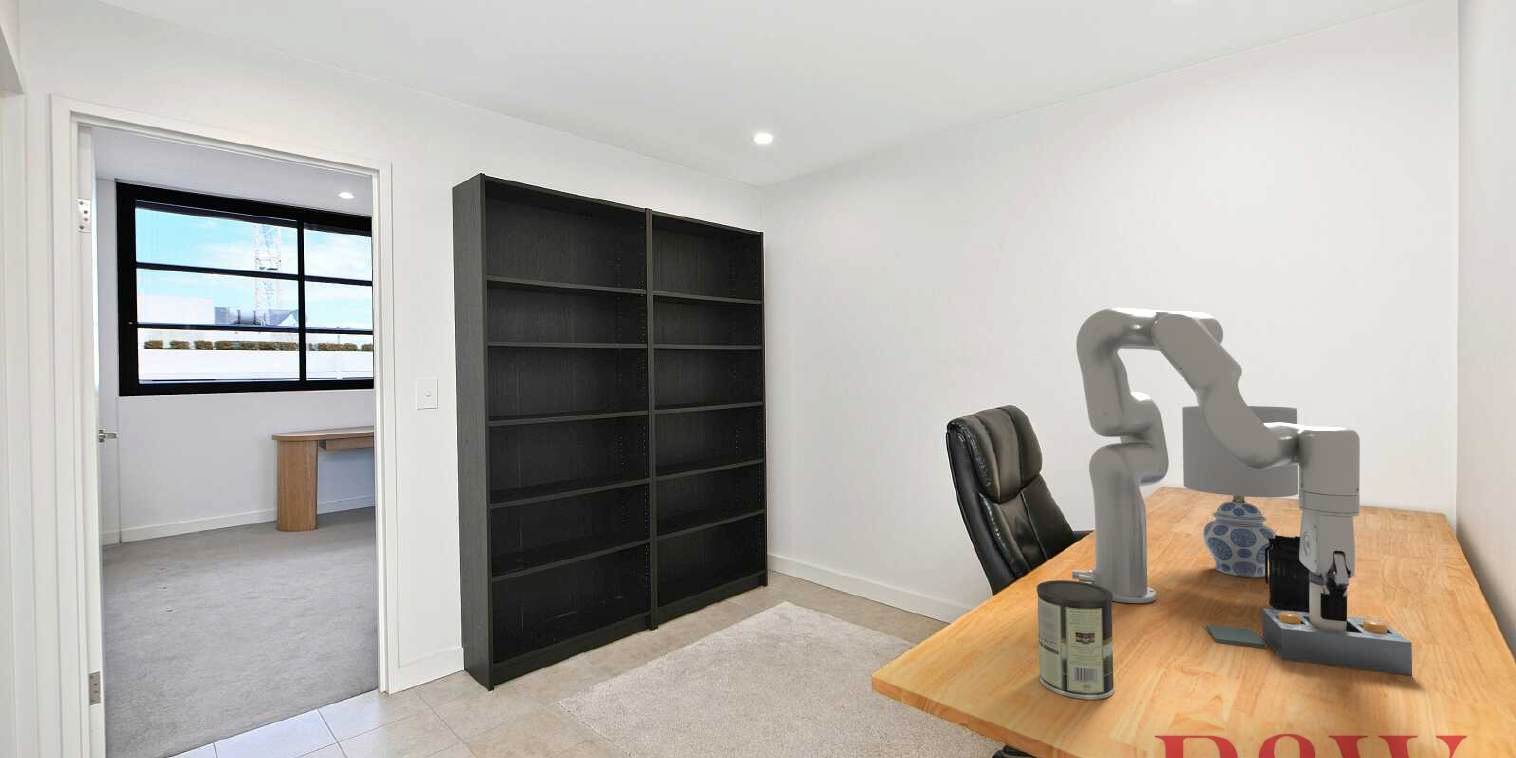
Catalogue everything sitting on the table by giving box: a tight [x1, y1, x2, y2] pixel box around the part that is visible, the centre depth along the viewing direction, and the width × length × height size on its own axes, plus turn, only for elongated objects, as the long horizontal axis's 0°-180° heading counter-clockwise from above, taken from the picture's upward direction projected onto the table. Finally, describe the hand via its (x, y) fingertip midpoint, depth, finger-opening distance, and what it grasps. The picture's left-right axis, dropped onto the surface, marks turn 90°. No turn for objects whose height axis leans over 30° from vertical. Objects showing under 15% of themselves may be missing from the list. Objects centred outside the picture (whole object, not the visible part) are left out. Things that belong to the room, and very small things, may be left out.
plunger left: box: [1279, 612, 1301, 624], centre depth 110 cm, size 3×3×5 cm
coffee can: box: [1036, 579, 1115, 701], centre depth 99 cm, size 10×10×14 cm
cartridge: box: [1309, 572, 1349, 632], centre depth 108 cm, size 5×5×12 cm
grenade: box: [1264, 534, 1310, 613], centre depth 126 cm, size 7×7×15 cm
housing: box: [1261, 607, 1413, 677], centre depth 108 cm, size 16×10×5 cm, turn 67°
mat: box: [1205, 624, 1266, 649], centre depth 115 cm, size 7×7×1 cm
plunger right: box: [1363, 620, 1388, 633], centre depth 105 cm, size 3×3×5 cm
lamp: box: [1181, 405, 1299, 578], centre depth 153 cm, size 22×22×38 cm
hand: (1327, 612), depth 108 cm, fingers closed on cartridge, 4 cm apart
